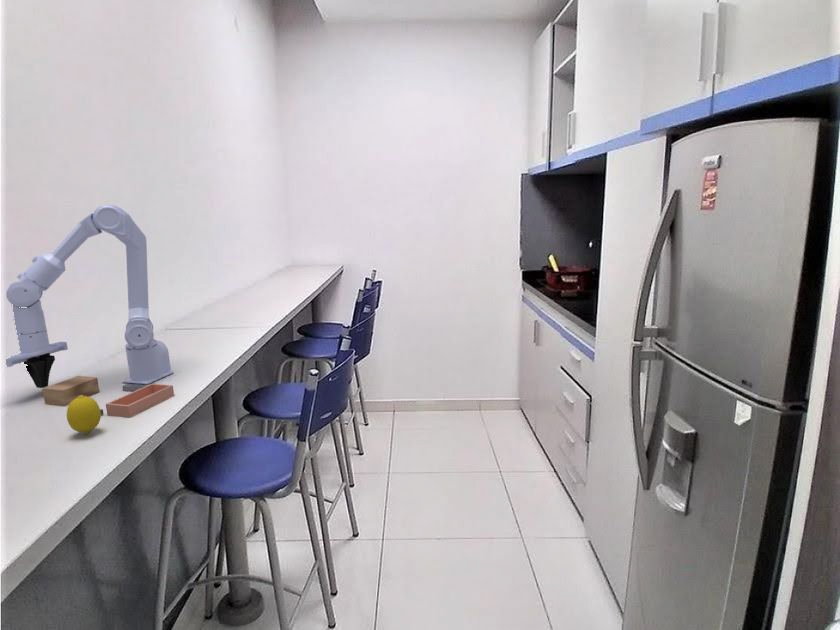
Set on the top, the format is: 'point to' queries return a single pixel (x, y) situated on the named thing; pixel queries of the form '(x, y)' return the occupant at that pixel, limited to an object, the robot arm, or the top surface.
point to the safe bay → (128, 388)
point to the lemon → (83, 414)
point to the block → (70, 390)
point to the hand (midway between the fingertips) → (42, 386)
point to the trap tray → (139, 400)
